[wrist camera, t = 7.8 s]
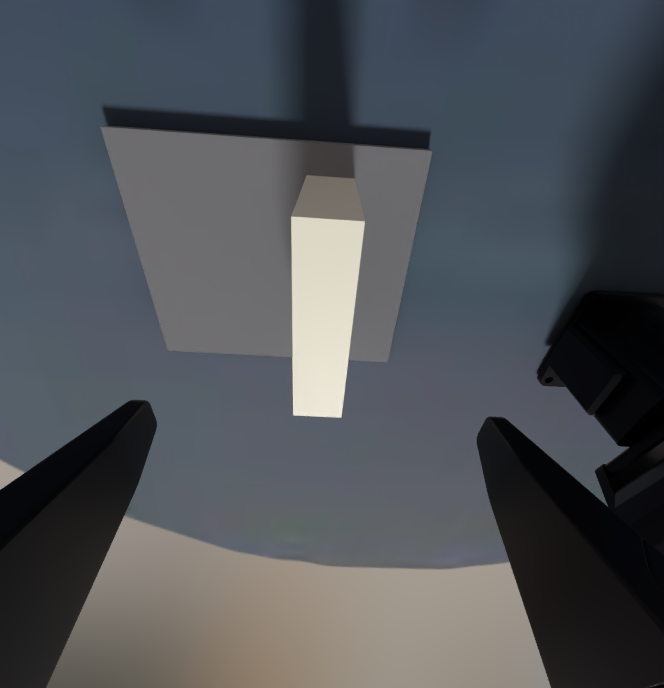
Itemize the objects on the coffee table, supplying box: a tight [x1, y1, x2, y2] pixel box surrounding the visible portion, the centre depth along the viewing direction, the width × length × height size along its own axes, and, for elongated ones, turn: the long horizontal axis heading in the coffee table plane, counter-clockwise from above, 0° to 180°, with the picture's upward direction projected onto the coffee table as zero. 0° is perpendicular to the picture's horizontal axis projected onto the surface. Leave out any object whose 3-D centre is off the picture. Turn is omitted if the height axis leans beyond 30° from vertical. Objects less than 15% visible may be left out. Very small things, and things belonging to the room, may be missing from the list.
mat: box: [101, 126, 432, 362], centre depth 16 cm, size 13×11×1 cm
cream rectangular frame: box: [291, 175, 365, 418], centre depth 14 cm, size 8×2×6 cm, turn 176°
